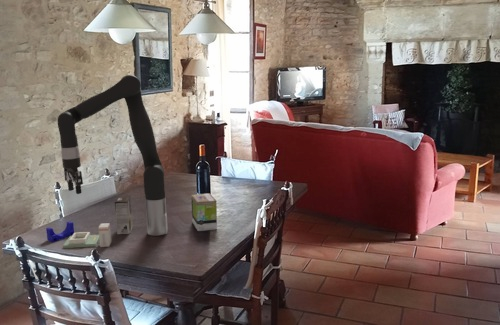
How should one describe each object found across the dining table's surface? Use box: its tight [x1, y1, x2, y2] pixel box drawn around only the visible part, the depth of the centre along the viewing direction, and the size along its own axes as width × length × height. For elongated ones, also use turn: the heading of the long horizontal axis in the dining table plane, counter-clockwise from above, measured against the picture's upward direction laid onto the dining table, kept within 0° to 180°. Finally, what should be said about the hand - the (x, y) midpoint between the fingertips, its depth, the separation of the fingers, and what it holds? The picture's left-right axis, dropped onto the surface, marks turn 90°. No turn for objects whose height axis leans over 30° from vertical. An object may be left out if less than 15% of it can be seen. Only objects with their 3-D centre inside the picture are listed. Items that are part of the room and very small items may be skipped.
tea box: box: [190, 192, 218, 232], centre depth 241 cm, size 15×10×15 cm, turn 17°
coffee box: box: [114, 196, 133, 235], centre depth 235 cm, size 9×6×16 cm
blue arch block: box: [45, 221, 75, 243], centre depth 228 cm, size 12×4×6 cm, turn 142°
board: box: [62, 231, 100, 249], centre depth 222 cm, size 14×12×3 cm
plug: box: [97, 222, 112, 248], centre depth 218 cm, size 4×6×9 cm
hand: (75, 192), depth 220 cm, fingers open, 8 cm apart
